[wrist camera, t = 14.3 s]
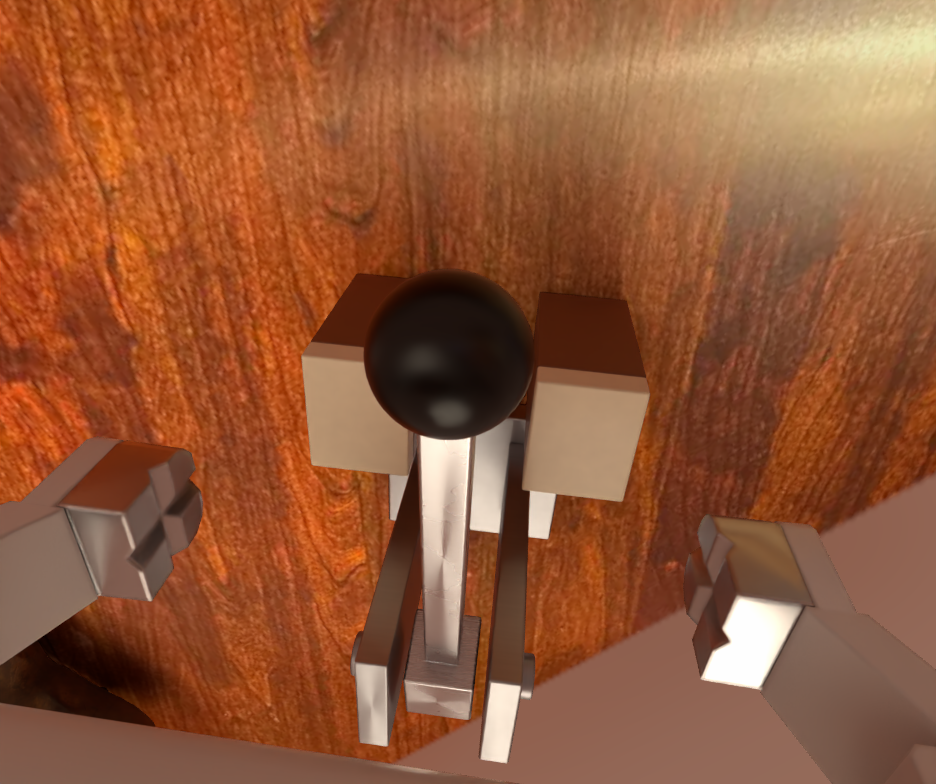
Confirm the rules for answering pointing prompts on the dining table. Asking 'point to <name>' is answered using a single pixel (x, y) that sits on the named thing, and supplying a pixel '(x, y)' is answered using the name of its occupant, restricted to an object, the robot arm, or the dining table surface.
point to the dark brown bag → (60, 689)
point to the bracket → (508, 666)
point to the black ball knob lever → (446, 448)
